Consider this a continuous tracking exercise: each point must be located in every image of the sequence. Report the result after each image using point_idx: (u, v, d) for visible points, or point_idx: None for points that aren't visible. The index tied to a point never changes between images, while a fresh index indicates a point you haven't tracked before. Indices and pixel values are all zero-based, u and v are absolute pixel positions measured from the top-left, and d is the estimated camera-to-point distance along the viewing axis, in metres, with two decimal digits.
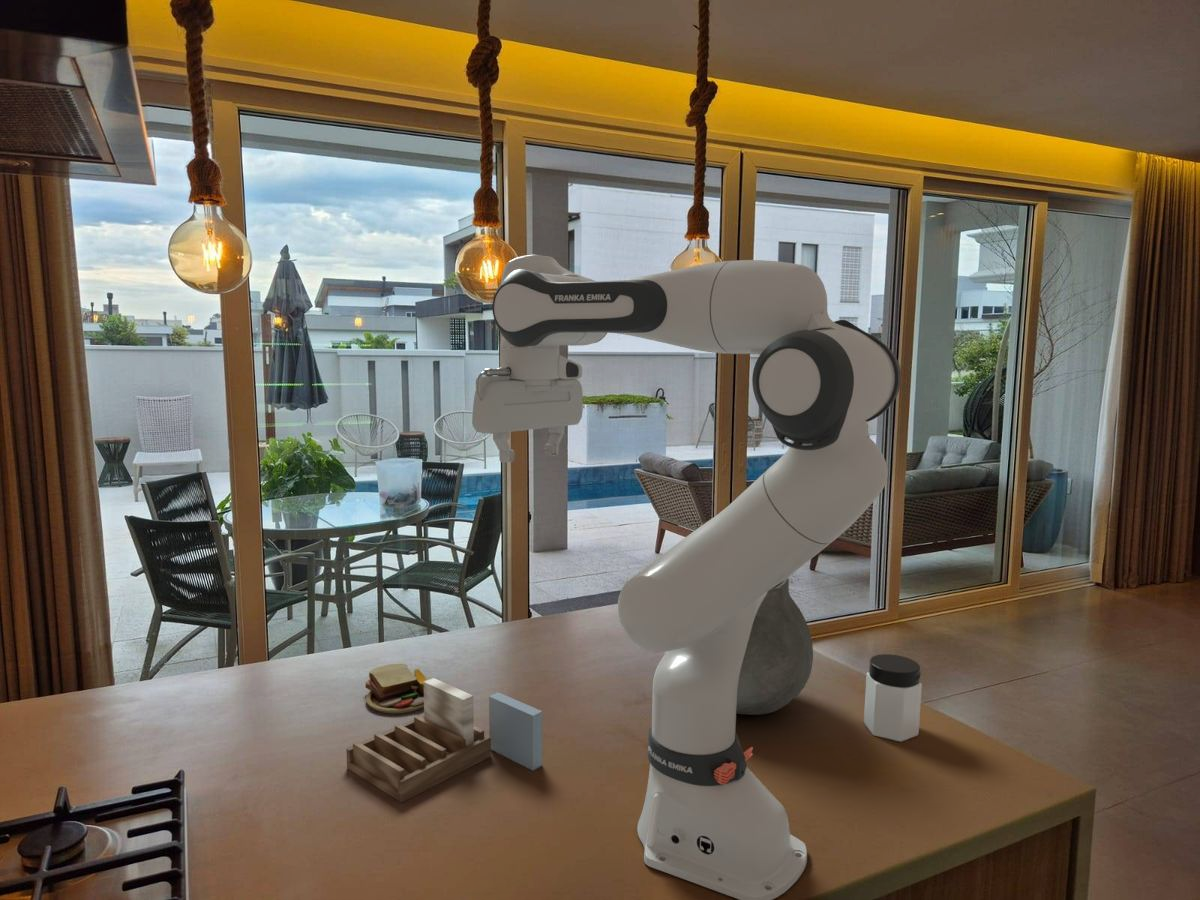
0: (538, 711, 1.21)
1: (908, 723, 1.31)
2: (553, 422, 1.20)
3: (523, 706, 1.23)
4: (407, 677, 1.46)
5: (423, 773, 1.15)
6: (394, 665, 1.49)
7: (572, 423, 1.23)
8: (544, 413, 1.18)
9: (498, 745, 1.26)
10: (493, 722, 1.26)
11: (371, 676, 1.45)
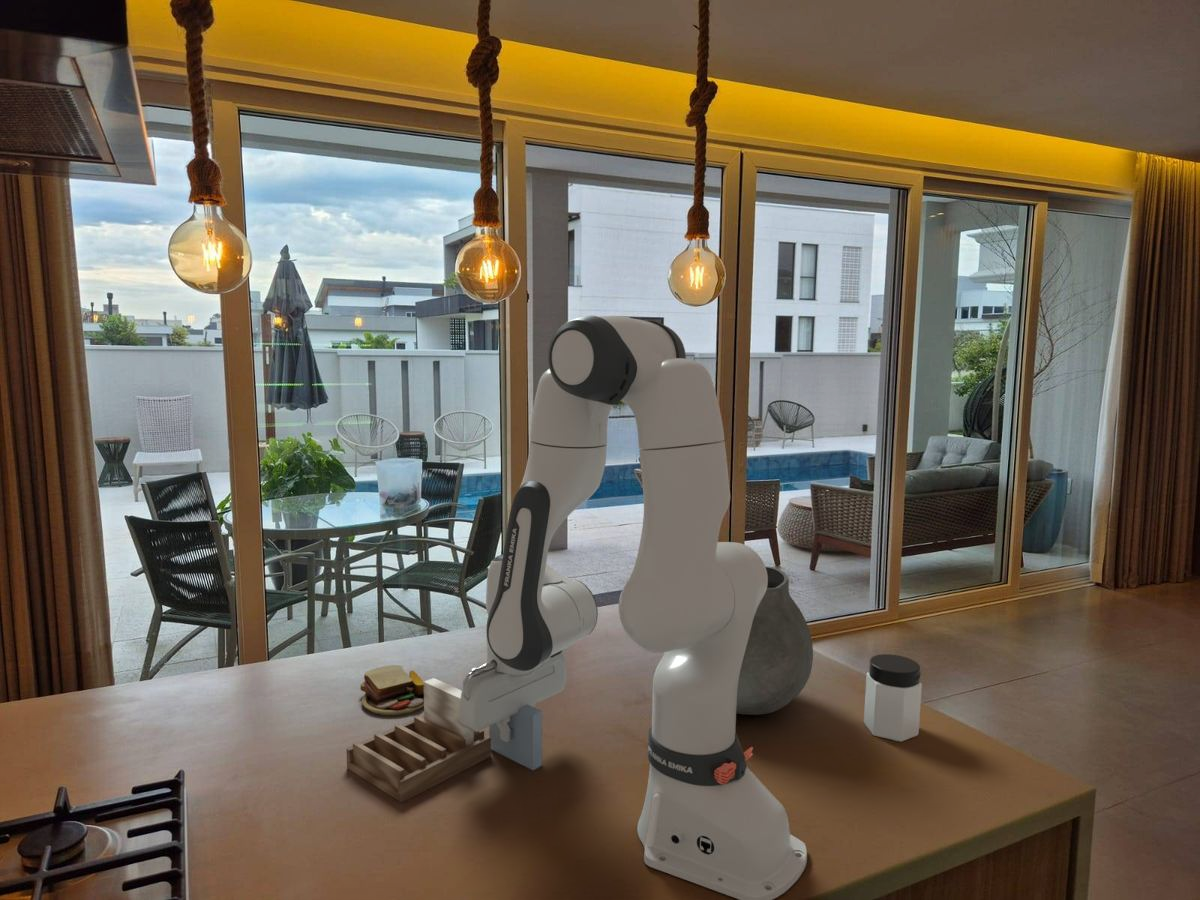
0: (538, 711, 1.21)
1: (908, 723, 1.31)
2: (538, 699, 1.25)
3: None
4: (403, 678, 1.45)
5: (423, 773, 1.15)
6: (389, 667, 1.48)
7: (556, 692, 1.29)
8: (528, 694, 1.23)
9: (498, 745, 1.26)
10: None
11: (366, 678, 1.45)
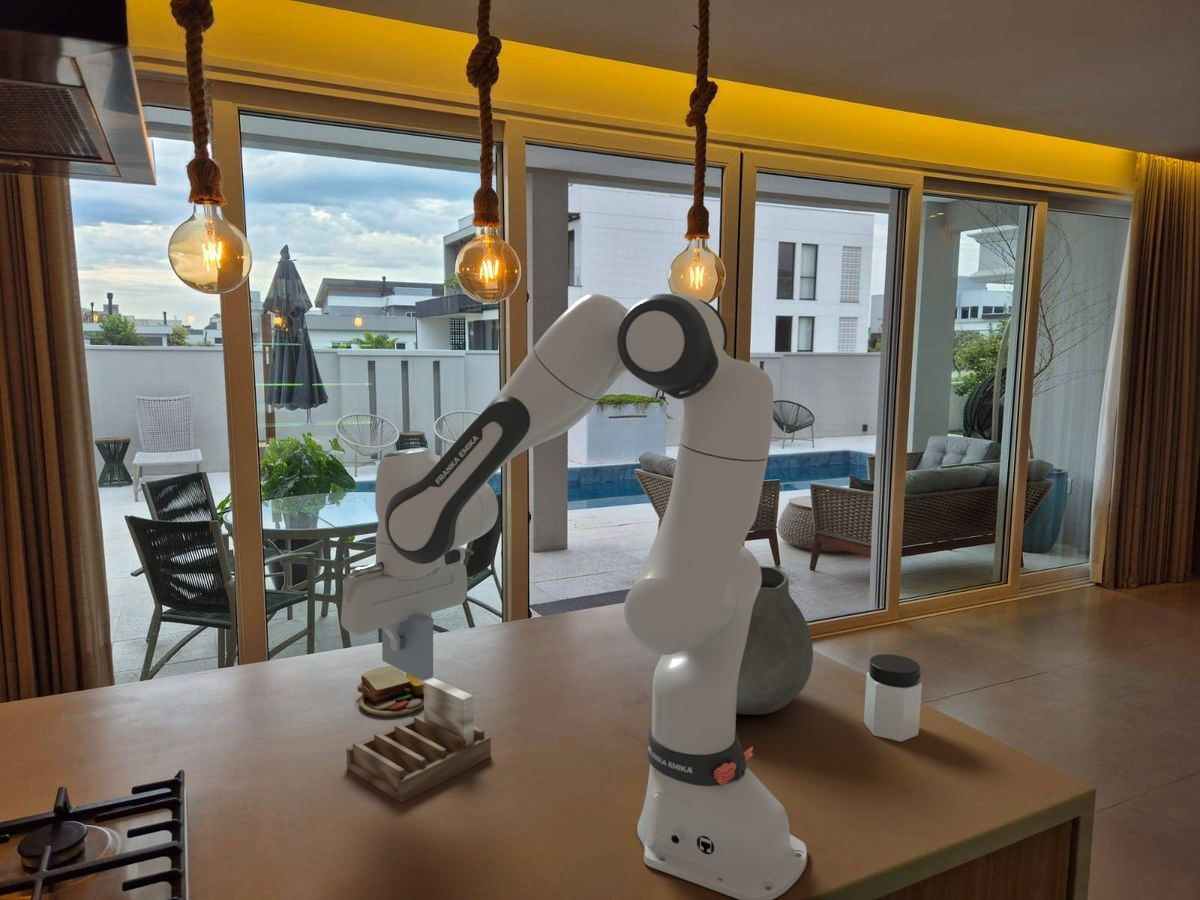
0: (429, 618, 1.14)
1: (908, 723, 1.31)
2: (433, 609, 1.18)
3: (415, 614, 1.16)
4: (400, 679, 1.45)
5: (423, 773, 1.15)
6: (386, 667, 1.48)
7: (455, 604, 1.21)
8: (421, 602, 1.16)
9: (390, 656, 1.19)
10: None
11: (363, 679, 1.44)
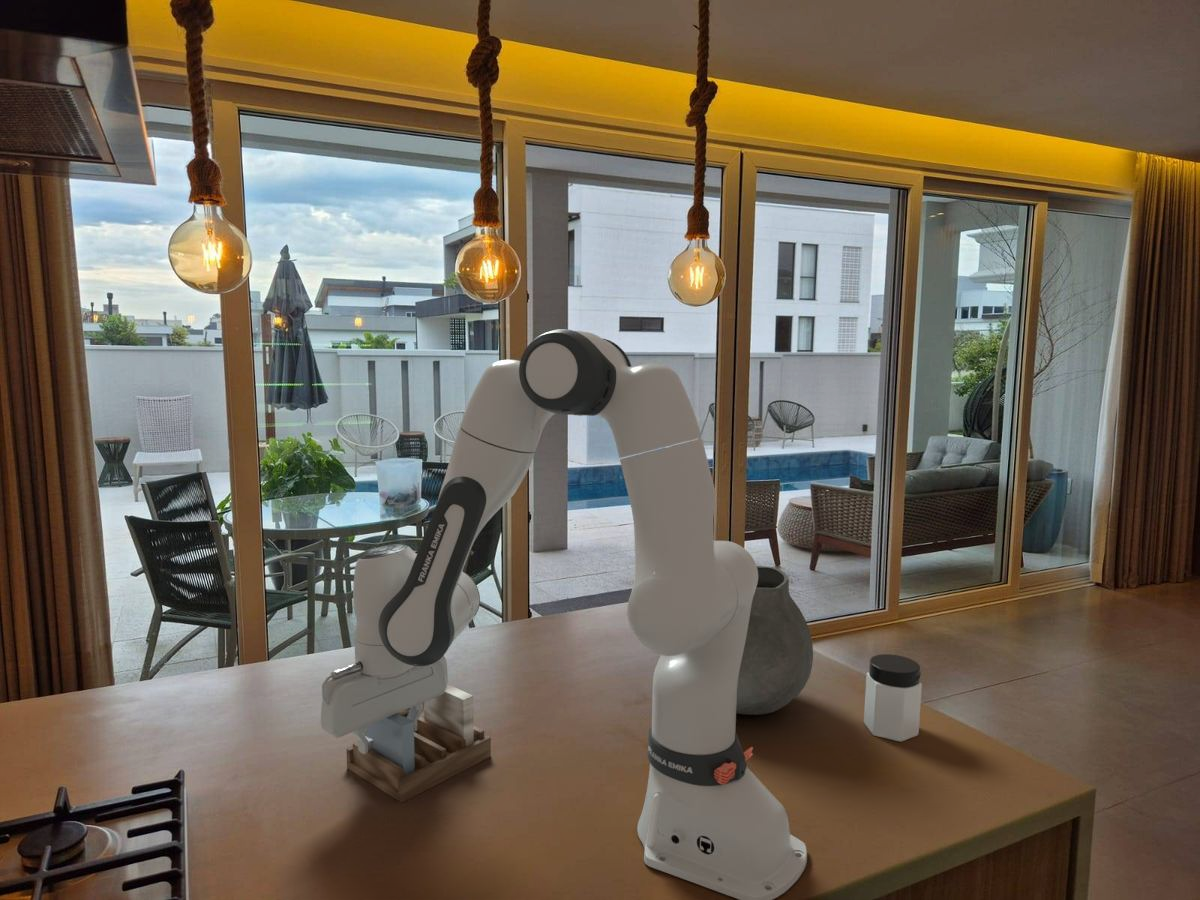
0: (409, 722, 1.15)
1: (908, 723, 1.31)
2: (413, 703, 1.19)
3: (395, 716, 1.16)
4: None
5: (423, 773, 1.15)
6: None
7: (436, 696, 1.22)
8: (401, 698, 1.17)
9: None
10: (367, 732, 1.20)
11: None
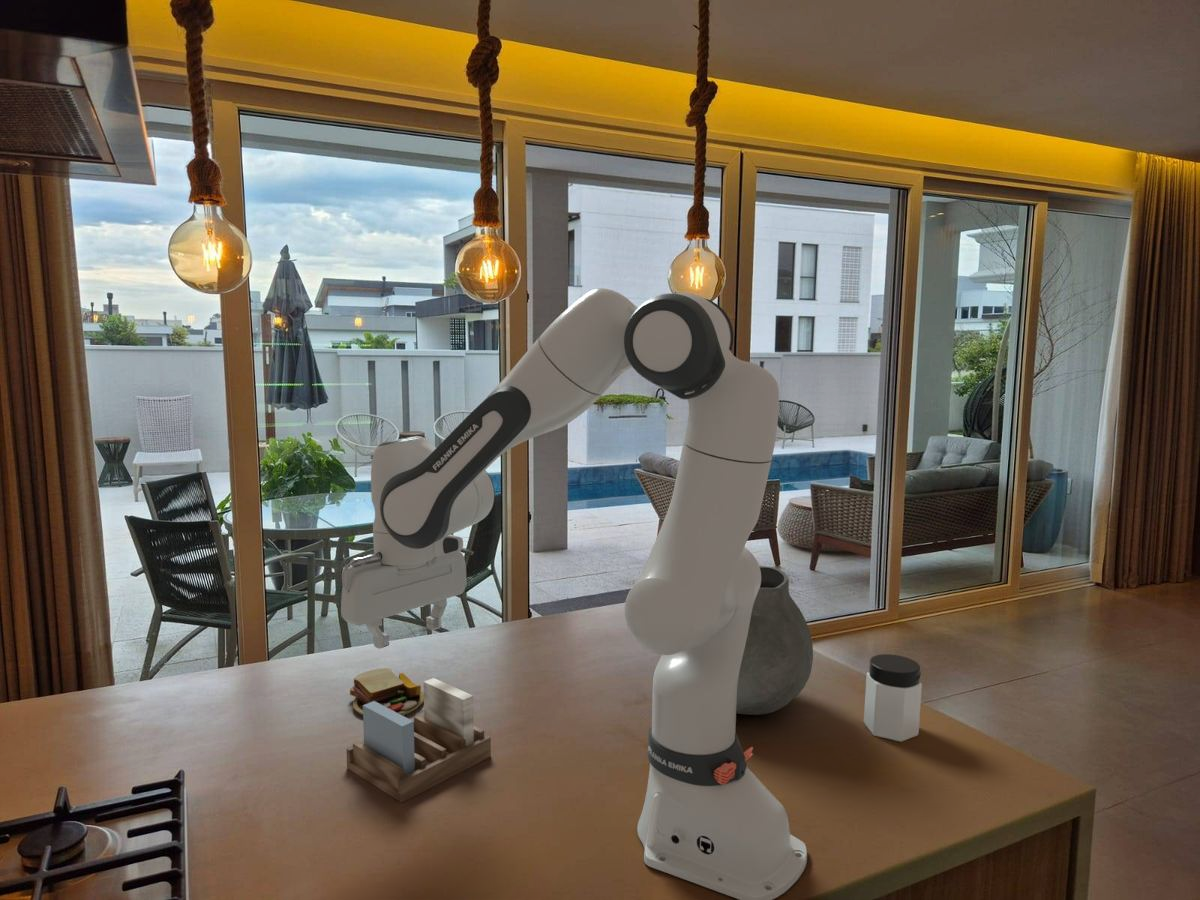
0: (409, 722, 1.15)
1: (908, 723, 1.31)
2: (433, 599, 1.18)
3: (395, 716, 1.16)
4: (394, 681, 1.44)
5: (423, 773, 1.15)
6: (378, 670, 1.47)
7: (455, 594, 1.21)
8: (421, 592, 1.16)
9: None
10: (367, 732, 1.20)
11: (356, 682, 1.43)
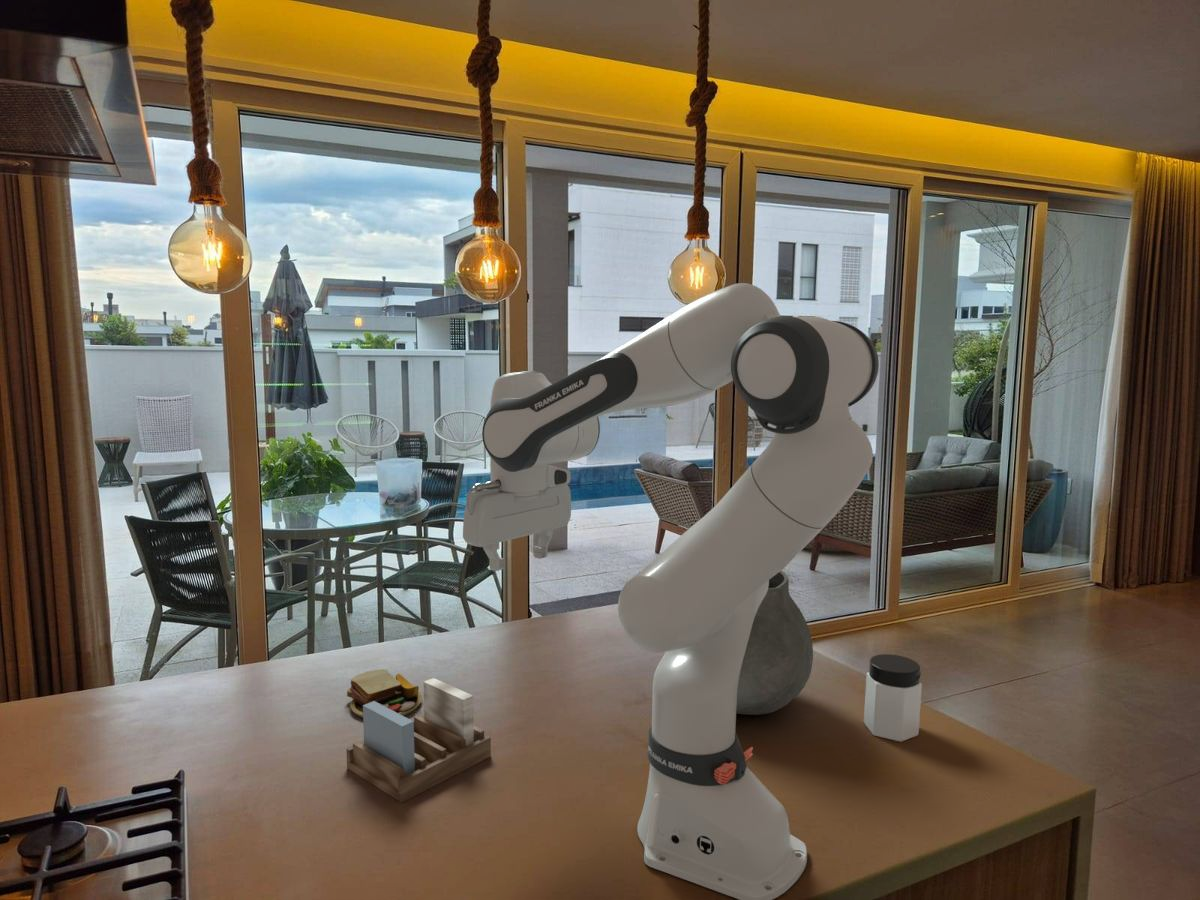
0: (409, 722, 1.15)
1: (908, 723, 1.31)
2: (542, 528, 1.24)
3: (395, 716, 1.16)
4: (391, 682, 1.43)
5: (423, 773, 1.15)
6: (375, 671, 1.46)
7: (560, 525, 1.27)
8: (533, 520, 1.22)
9: None
10: (367, 732, 1.20)
11: (353, 684, 1.42)
